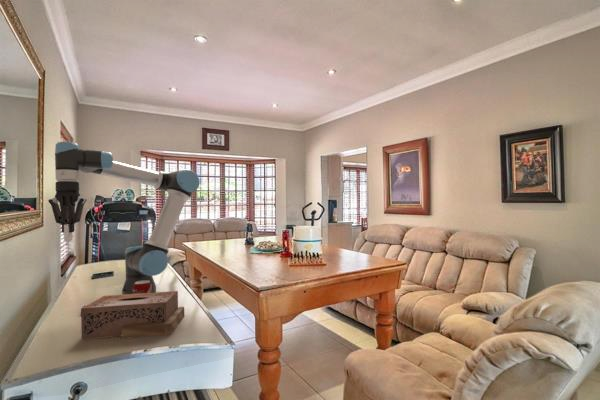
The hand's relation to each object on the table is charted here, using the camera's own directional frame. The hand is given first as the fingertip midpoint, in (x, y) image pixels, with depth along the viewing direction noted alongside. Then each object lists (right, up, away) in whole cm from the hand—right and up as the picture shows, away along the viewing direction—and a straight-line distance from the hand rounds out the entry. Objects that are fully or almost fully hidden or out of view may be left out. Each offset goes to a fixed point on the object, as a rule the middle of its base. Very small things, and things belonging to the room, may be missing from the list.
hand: (68, 240), depth 122 cm
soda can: (+29, -29, +1) cm, 41 cm away
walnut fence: (+42, -28, -15) cm, 52 cm away
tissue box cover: (+34, -28, -15) cm, 47 cm away
